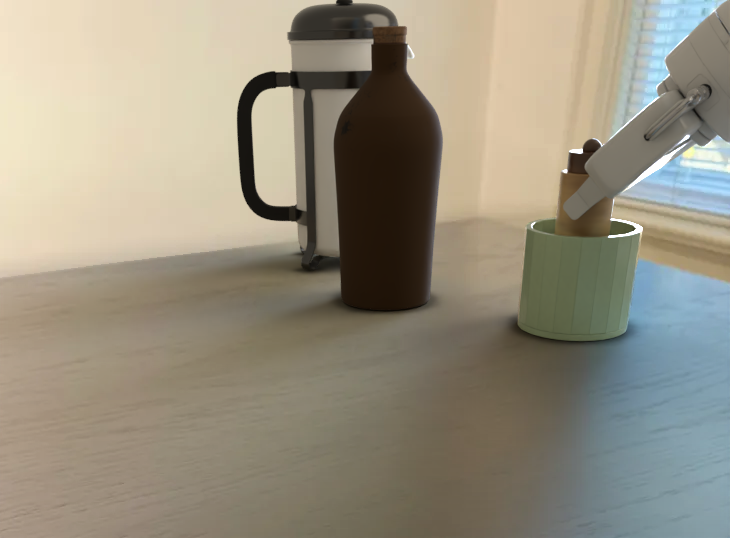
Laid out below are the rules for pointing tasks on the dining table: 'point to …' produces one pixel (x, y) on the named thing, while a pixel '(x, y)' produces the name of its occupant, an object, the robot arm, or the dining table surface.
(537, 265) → the cup
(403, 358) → the dining table surface
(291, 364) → the dining table surface
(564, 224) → the pepper mill
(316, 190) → the coffee press
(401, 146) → the olive oil
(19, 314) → the dining table surface
